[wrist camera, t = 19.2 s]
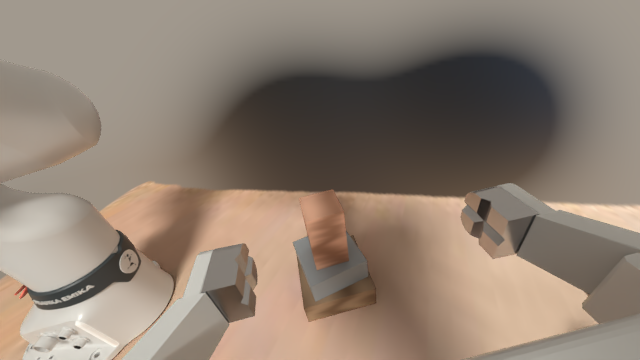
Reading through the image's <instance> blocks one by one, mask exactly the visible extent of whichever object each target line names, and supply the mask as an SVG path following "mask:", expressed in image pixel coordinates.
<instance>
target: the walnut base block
mask: <svg viewBox="0 0 640 360" xmlns="http://www.w3.org/2000/svg"><path fill="white" fill-rule="evenodd" d="M350 237H351V238H352V240H353V241H354V243H355V244H356V245H357V243H356V241H355V238H354V236H350ZM357 247H358V246H357ZM297 261H298V268H299V275H300V283H301V290H302V297H303V304H304V310H305V312H306V315H307V318H308V321H309V322H311V321H314V320H318V319H321V318H325V317H328V316H332V315H335V314H339V313H343V312H346V311H350V310H353V309H357V308H360V307H364V306H367V305H371V304H375V303H376V288H375V286H374V284H373V281H372V279H371V276H370V274H369V272H368V277H366V278H364V279H362V280H360V281H358V282H356V283H354V284H352V285H350V286H347V287H345V288H343V289H341V290H339V291H337V292H335V293H333V294H331V295H329V296H327V297H325V298H323V299H321V300H318V301H316V302H315V299H314V297H313V294H312V292H311V289H310V287H309V284H308V282H307V279H306V277H305V274H304V272H303V269H302V267H301V264H300V262H299V259H298V257H297Z"/></svg>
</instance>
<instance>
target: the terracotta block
mask: <svg viewBox="0 0 640 360" xmlns="http://www.w3.org/2000/svg"><path fill="white" fill-rule="evenodd" d="M299 201H300V205H301V209H302V213H303V218H304V222H305V226H306V230H307V234H308V239H309V243H310V247H311V250H312V254H313V258H314V262H315V265H316V269H317V270H320V269H323V268H327V267H330V266H333V265H337V264H340V263H343V262H347V261H349V255H348V246H347V236H346V227H345V217H344V211H343V209H342V207H341V205H340V203H339V201H338V199H337V197H336V195H335V193H334V191H333V189H332V190H328V191H324V192H320V193H316V194H312V195H309V196H305V197H301V198H299Z"/></svg>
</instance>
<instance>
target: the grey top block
mask: <svg viewBox="0 0 640 360" xmlns="http://www.w3.org/2000/svg"><path fill="white" fill-rule="evenodd" d="M346 236H347V246H348V255H349V261H347V262H343V263H340V264H337V265H333V266H330V267H327V268H323V269H320V270H317V269H316V265H315V262H314V258H313V254H312V250H311V247H310V243H309V239H308V236H307V237H305V238H302V239H300V240H297V241H295V242H293V244H294V247H295V250H296V254H297V257H298V259H299V262H300V264H301V267H302V269H303V272H304V274H305V277H306V279H307V282H308V284H309V287H310V289H311V292H312V294H313V297H314V299H315V302H316V301H318V300H321V299H323V298H325V297H327V296H329V295H331V294H333V293H335V292H337V291H339V290H341V289H343V288H345V287H347V286H350V285H352V284H354V283H356V282H358V281H360V280H362V279H364V278H366V277H368V265H367V260H366V258H365V257H364V255H363V254H362V252H361V251H360V250H359V248H358V247H357V245H356V244H355V243H354V241H353V240H352V238H351V237H350V235H349V234H348V233H347V231H346Z"/></svg>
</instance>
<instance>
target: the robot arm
mask: <svg viewBox="0 0 640 360" xmlns="http://www.w3.org/2000/svg"><path fill="white" fill-rule="evenodd" d="M100 135H101V121H100V117H99V114H98V112H97V110H96V108H95V106H94V105H93V103H92V102H91V101H90V99H89V98H88V97H87V96H86V95H85V94H84V93H83V92H82V91H80V90H79V89H78V88H77V87H76V86H74V85H73V84H71V83H70V82H68V81H66V80H64V79H63V78H61V77H59V76H56V75H54V74H52V73H49V72H47V71H44V70H38V69H33V68H29V67H25V66H21V65H17V64H14V63H11V62H7V61H4V60H1V59H0V183H2V182H5V181H8V180H12V179H15V178H17V177H21V176H24V175H27V174H30V173H33V172H37V171H39V170H42V169H46V168H49V167H52V166H55V165H58V164H61V163H63V162H65V161H66V160H69V159H70V158H72V157H75V156H76V155H78V154H80V153H82V152H84V151H86V150H88V149H89V148H91V147H93V146H95V145H96V144H97V143H98V141H99V138H100ZM465 203H466V204H467V206H466V207H465V208H464V209H463V210H462V213H461V220H462V224H463V226H464V228H465V230H466V231H467V232H468V233H469V234H470V235H472V236H474V237H476V238H479V245H480V246H481V247H482V248H483V249H484V250H485V251H486V252H487V253H488V254H489V255H490V256H491V257H492V259H495V258H500V257H504V256H509V255H514V254H517V256H519V257H521V258H523V259H525V260H526V261H528V262H530V263H532V264H534V265H536V266H538V267H540V268H542V269H543V270H545V271H547V272H549V273H551V274H553V275H555V276H557V277H558V278H560V279H562V280H564V281H566V282H568V283H570V284H572V285H573V286H575V287H577V288H579V289H581V290H583V291H585V292H587V293H588V294H590V295H589V296H588V297H587V299H586V300H585V301H584V302H583V303H582V308H583V309H584V310H585V311H586V312H587V313H588V314H589V315H590V316H591V317H593V318H594V319H595V320H596V321H597V322H598V323H599V324H597V325H593V326H589V327H585V328H581V329H577V330H574V331H570V332H566V333H562V334H558V335H554V336H550V337H547V338H543V339H539V340H535V341H531V342H527V343H523V344H520V345H516V346H512V347H508V348H504V349H500V350H496V351H493V352H489V353H485V354H481V355H477V356H473V357H469V358H466V359H462V360H640V233H638V232H634V231H631V230H627V229H624V228H620V227H617V226H613V225H610V224H607V223H603V222H600V221H596V220H593V219H589V218H586V217H582V216H579V215H576V214H572V213H569V212H565V211H562V210H558V211H555V210H553V209H552V208H550V207H549V206H547V205H546V204H544V203H543V202H541V201H540V200H538V199H537V198H535V197H534V196H532V195H531V194H529V193H527V192H526V191H524V190H523V189H521V188H520V187H518V186H517V185H515V184H512V183H508V184H503V185H499V186H495V187H490V188H486V189H482V190H478V191H473V192H469V193H468V194H467V195H466V197H465ZM248 253H249V249H248V248H247V246H246V244H238V245H233V246H228V247H223V248H218V249H215V250H209V251H204V252H200V253H199V254H198V255H197V257H196V260H195V263H194V266H193V269H192V272H191V275H190V277H189V280H188V283H187V286H186V289H185V292H184V295H183V298H179V299H177V300H176V301H175V302H174V303H173V305H172V306H171V307H170V308H169V309H168V310H167V311H166V312H165V313H164V314H163V315H162V316H161V318H160V319H159V320H158V321H157V322H156V323H155V324H154V325H153V326H152V327H151V328H150V329H149V330H148V332H147V333H146V334H145V335H144V336H143V337H142V338H141V339H140V340H139V341H138V342H137V343H136V345H135V346H134V347H133V348H132V349H131V350H130V351H129V352H128V353H127V354H126V355H125V356H124V357H123V359H122V360H209V359H210V357H211V355H212V354H213V352H214V350H215V349H216V347H217V345H218V343H219V342H220V340H221V338H222V336H223V335H224V333H225V331H226V330H227V328H228V326H229V323H231V322H234V321H238V320H242V319H245V318H249V317H253V316H255V305H256V295H255V294H254V292H253V290H254V288H255V287H256V285H257V268H256V265H255V262H254V260H253V258H251V257H249V256H248ZM0 270H1V271H2V272H4V273H6V274H7V275H9V276H11V277H12V278H14V279H15V280H17V281H19V282H20V283H22V284H23V286H22V287H21V288H20V289H19V290H18V291H17V292H16V293H15V294H14V295H17V294H18V293H19V292H21V291H22V290H23V289H24V288H25V289H24V290H23V292H22V294H21V295H20V297H19V298H20V299H21V298H23V297H24V296H25V295H26V294H27V293H29V295H30V297H31V298H32V300H33V302H34V304H33V306H32V308H31V309H30V311H29V312H28V314H27V316H26V317H25V319H24V321H23V323H22V325H21V329H20V335H21V337H22V338H23V339H25V340H26V341H28V342H30V343H29V345H28V347H27V349H26V351H25V353H24V356H23V360H112V359H113V358H114V357H115V356H116V355H117V354H118V353H119V352H120V351H121V350H122V348H123V347H124V346H125V345H126V344H128V343H129V342H130V341H131V340H133V339H134V338H136V337H137V336H138V335H140V334H141V333H142V332H143V331H145V330H146V329H147V328H148V327H149V326H150V325H151V324H152V323H153V322H154V321H155V320H156V319H157V318H158V317H159V316H160V314H161V313H162V312H163V310H164V309H165V307H166V306H167V304H168V302H169V300H170V298H171V296H172V293H173V288H174V282H173V278H172V277H171V275H170V274H168V273H167V272H165V271H163V270H162V269H161V268H160V266H159V264H158V263H157V262H156V261H151V260H150V259H148V258H147V257H146V256H145V255H144V254H142V253H141V252H140V251H139V250H138V249H136V248H135V247H134V245H133V244H132V243H131V242H130V240H129V239H128V237H127V236H126V235H124V234H123V233H122V232H120V231H118V230H115V229H114V228H113V227H112V226H111V225H110V224H109V222H108V221H107V220H106V219H105V218H104V217H103V216H102V215H101V214H100V213H99V211H98V210H97V209H96V208H95V207H94V206H93V205H92V204H91V203H90V202H89V201H87V200H85V199H83V198H81V197H78V196H75V195H71V194H65V193H43V194H42V193H29V192H24V191H19V190H15V189H12V188H9V187H7V186H5V185H2V184H0Z"/></svg>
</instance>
